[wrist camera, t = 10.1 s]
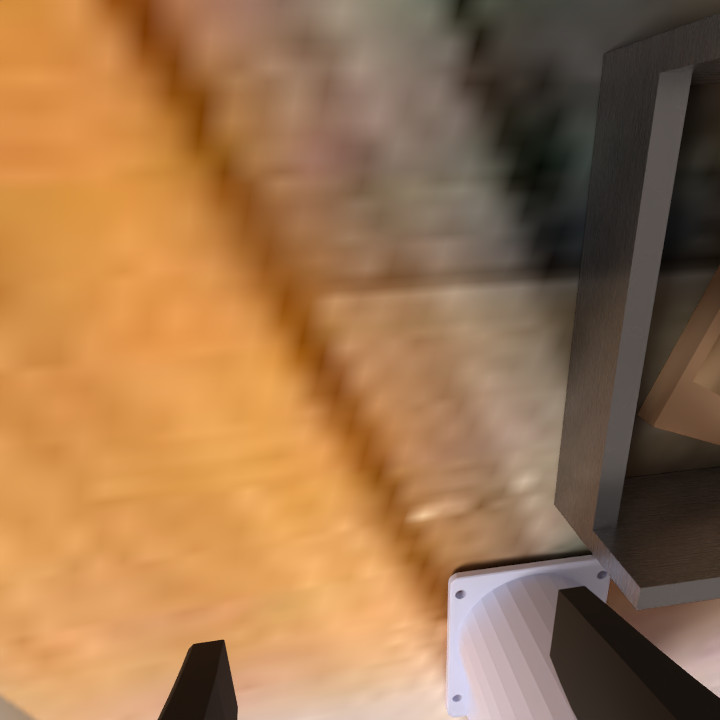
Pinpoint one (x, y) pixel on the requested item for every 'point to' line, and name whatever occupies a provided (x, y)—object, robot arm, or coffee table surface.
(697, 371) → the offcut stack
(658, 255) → the rack
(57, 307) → the coffee table surface
